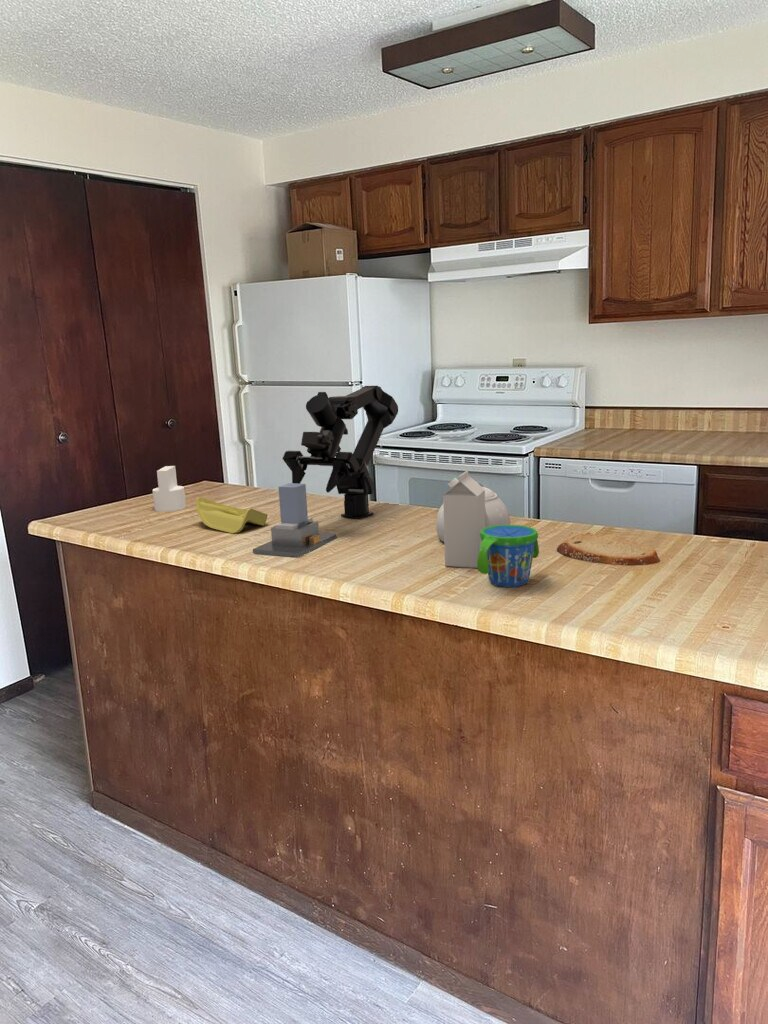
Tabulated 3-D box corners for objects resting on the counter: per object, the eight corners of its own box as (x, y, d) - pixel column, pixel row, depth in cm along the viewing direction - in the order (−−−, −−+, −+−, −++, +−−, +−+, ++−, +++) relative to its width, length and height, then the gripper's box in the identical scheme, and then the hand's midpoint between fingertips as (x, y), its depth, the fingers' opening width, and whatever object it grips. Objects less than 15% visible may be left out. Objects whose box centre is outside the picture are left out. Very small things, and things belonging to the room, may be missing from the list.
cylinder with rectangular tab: (181, 511, 226) (177, 470, 223) (150, 512, 226) (146, 471, 223) (189, 504, 234) (185, 465, 232) (159, 505, 235) (155, 466, 232)
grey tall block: (297, 534, 186) (293, 481, 183) (313, 536, 184) (310, 482, 181) (277, 544, 178) (273, 488, 175) (294, 545, 176) (290, 489, 174)
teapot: (529, 536, 181) (529, 478, 178) (482, 553, 168) (481, 492, 165) (465, 525, 194) (464, 471, 191) (417, 541, 181) (415, 483, 178)
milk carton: (486, 559, 164) (484, 470, 160) (478, 568, 157) (477, 476, 153) (453, 557, 166) (451, 469, 162) (444, 566, 160) (442, 475, 155)
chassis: (294, 534, 192) (292, 514, 191) (336, 537, 187) (335, 517, 186) (252, 553, 176) (251, 532, 175) (298, 557, 171) (297, 535, 170)
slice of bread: (665, 565, 155) (666, 547, 155) (578, 571, 154) (578, 553, 153) (630, 542, 173) (630, 526, 172) (551, 548, 172) (551, 531, 171)
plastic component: (271, 516, 203) (246, 506, 195) (263, 543, 203) (237, 534, 194) (218, 504, 214) (193, 494, 206) (211, 529, 214) (184, 521, 205)
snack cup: (518, 568, 156) (518, 519, 154) (558, 580, 148) (558, 528, 146) (459, 584, 148) (458, 532, 145) (498, 598, 139) (497, 543, 137)
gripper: (283, 418, 191) (262, 470, 184) (351, 418, 183) (331, 472, 176) (302, 445, 199) (282, 496, 192) (367, 446, 192) (349, 499, 184)
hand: (310, 490), depth 186 cm, fingers open, 9 cm apart
